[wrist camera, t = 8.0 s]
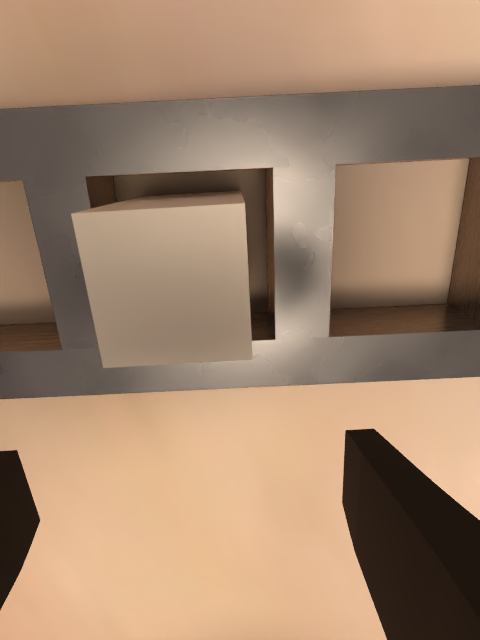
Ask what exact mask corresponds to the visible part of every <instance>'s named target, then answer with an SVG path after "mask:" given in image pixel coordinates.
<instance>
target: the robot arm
mask: <svg viewBox="0 0 480 640" xmlns="http://www.w3.org/2000/svg"><path fill="white" fill-rule="evenodd" d="M342 503H343V507H344V511H345V515H346V519H347V523H348V527H349V531H350V535H351V539H352V543H353V546H354V550H355V553H356V556H357V559H358V562H359V564H360V567H361V570H362V573H363V575H364V578H365V581H366V583H367V586H368V589H369V592H370V594H371V597H372V600H373V602H374V605H375V608H376V611H377V613H378V616H379V619H380V621H381V624H382V627H383V629H384V632H385V635H386V637H387V640H480V520H478V519H477V518H476V517H475V516H473V515H472V514H471V513H470V512H469V511H467V510H466V509H465V508H464V507H462V506H461V505H460V504H459V503H458V502H456V501H455V500H454V499H453V498H452V497H450V496H449V495H448V494H447V493H446V492H445V491H443V490H442V489H441V488H440V487H439V486H437V485H436V484H435V483H434V482H433V481H432V480H430V479H429V478H428V477H427V476H426V475H425V474H424V473H423V472H421V471H420V470H419V469H418V468H417V467H416V466H415V465H414V464H412V463H411V462H410V461H409V460H408V459H407V458H406V457H405V456H403V455H402V454H401V453H400V452H399V451H398V450H397V449H396V448H395V447H394V446H392V445H391V444H390V443H389V442H388V441H387V440H386V439H385V438H384V437H382V436H381V435H380V434H379V433H378V432H377V431H376V430H375V429H361V430H346V433H345V455H344V476H343V498H342ZM39 522H40V518H39V515H38V512H37V509H36V506H35V503H34V500H33V497H32V494H31V491H30V488H29V485H28V482H27V479H26V476H25V473H24V470H23V467H22V464H21V461H20V458H19V455H18V452H17V450H13V451H0V610H1V608H2V606H3V604H4V602H5V600H6V598H7V596H8V594H9V592H10V591H11V589H12V587H13V585H14V583H15V581H16V579H17V577H18V575H19V573H20V571H21V569H22V566H23V564H24V561H25V559H26V556H27V554H28V552H29V549H30V547H31V544H32V541H33V538H34V536H35V533H36V530H37V528H38V525H39Z"/></svg>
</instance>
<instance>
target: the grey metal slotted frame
mask: <svg viewBox="0 0 480 640" xmlns="http://www.w3.org/2000/svg"><path fill="white" fill-rule="evenodd" d="M452 159H470V164H469V170H468V176H467V183H466V189H465V196H464V202H463V208H462V215H461V221H460V227H459V234H458V240H457V246H456V253H455V259H454V265H453V272H452V278H451V284H450V291H449V297H448V304H438V305H417V306H396V307H375V308H354V309H333V310H330V298H331V273H332V249H333V225H334V200H335V176H336V165H350V164H371V163H391V162H411V161H432V160H452ZM249 169H266V200H267V250H268V300H269V313H250V315H251V335H252V355H253V360H238V361H220V362H202V363H184V364H167V365H149V366H131V367H113V368H103V364H102V359H101V355H100V350H99V345H98V340H97V336H96V331H95V326H94V321H93V316H92V312H91V307H90V302H89V297H88V293H87V288H86V283H85V278H84V273H83V269H82V264H81V259H80V254H79V249H78V245H77V240H76V235H75V230H74V226H73V221H72V216H71V213H76V212H80V211H84V210H88V209H92V208H96V207H100V206H104V205H108V204H113V203H117V198H116V192H115V185H114V179H113V176H126V175H147V174H167V173H188V172H208V171H228V170H249ZM4 181H23V184H24V188H25V192H26V197H27V201H28V205H29V209H30V214H31V218H32V222H33V226H34V231H35V235H36V239H37V244H38V248H39V252H40V256H41V261H42V265H43V269H44V273H45V278H46V282H47V286H48V290H49V295H50V299H51V303H52V307H53V312H54V316H55V320H56V323H40V324H19V325H0V399H15V398H37V397H58V396H79V395H100V394H122V393H143V392H164V391H185V390H207V389H228V388H249V387H270V386H292V385H313V384H334V383H356V382H377V381H398V380H419V379H441V378H462V377H480V85H472V86H452V87H432V88H412V89H392V90H371V91H351V92H331V93H311V94H291V95H271V96H251V97H231V98H211V99H191V100H171V101H151V102H131V103H111V104H91V105H71V106H50V107H30V108H10V109H0V182H4Z"/></svg>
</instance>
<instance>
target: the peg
mask: <svg viewBox="0 0 480 640" xmlns="http://www.w3.org/2000/svg"><path fill="white" fill-rule="evenodd" d="M71 216H72V221H73V226H74V230H75V235H76V240H77V245H78V249H79V254H80V259H81V264H82V269H83V273H84V278H85V283H86V288H87V293H88V297H89V302H90V307H91V312H92V316H93V321H94V326H95V331H96V336H97V340H98V345H99V350H100V355H101V359H102V364H103V368H113V367H131V366H149V365H167V364H184V363H202V362H220V361H238V360H253V355H252V335H251V315H250V294H249V274H248V254H247V234H246V214H245V202H244V199H243V196H242V193H241V191H225V192H208V193H192V194H175V195H158V196H142V197H137V198H133V199H129V200H125V201H121V202H117V203H113V204H108V205H104V206H100V207H96V208H92V209H88V210H84V211H80V212H76V213H71Z"/></svg>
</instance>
